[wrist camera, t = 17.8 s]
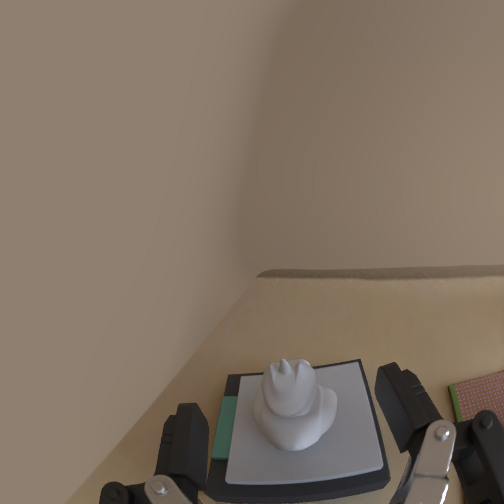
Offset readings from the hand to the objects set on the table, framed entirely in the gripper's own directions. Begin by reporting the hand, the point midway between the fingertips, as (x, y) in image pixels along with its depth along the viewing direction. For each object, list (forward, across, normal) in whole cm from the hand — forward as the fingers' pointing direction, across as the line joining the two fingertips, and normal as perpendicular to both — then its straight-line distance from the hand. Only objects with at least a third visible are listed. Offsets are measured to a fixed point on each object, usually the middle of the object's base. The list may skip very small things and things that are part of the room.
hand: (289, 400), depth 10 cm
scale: (+4, 0, +11) cm, 11 cm away
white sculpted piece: (+3, 0, +8) cm, 8 cm away
